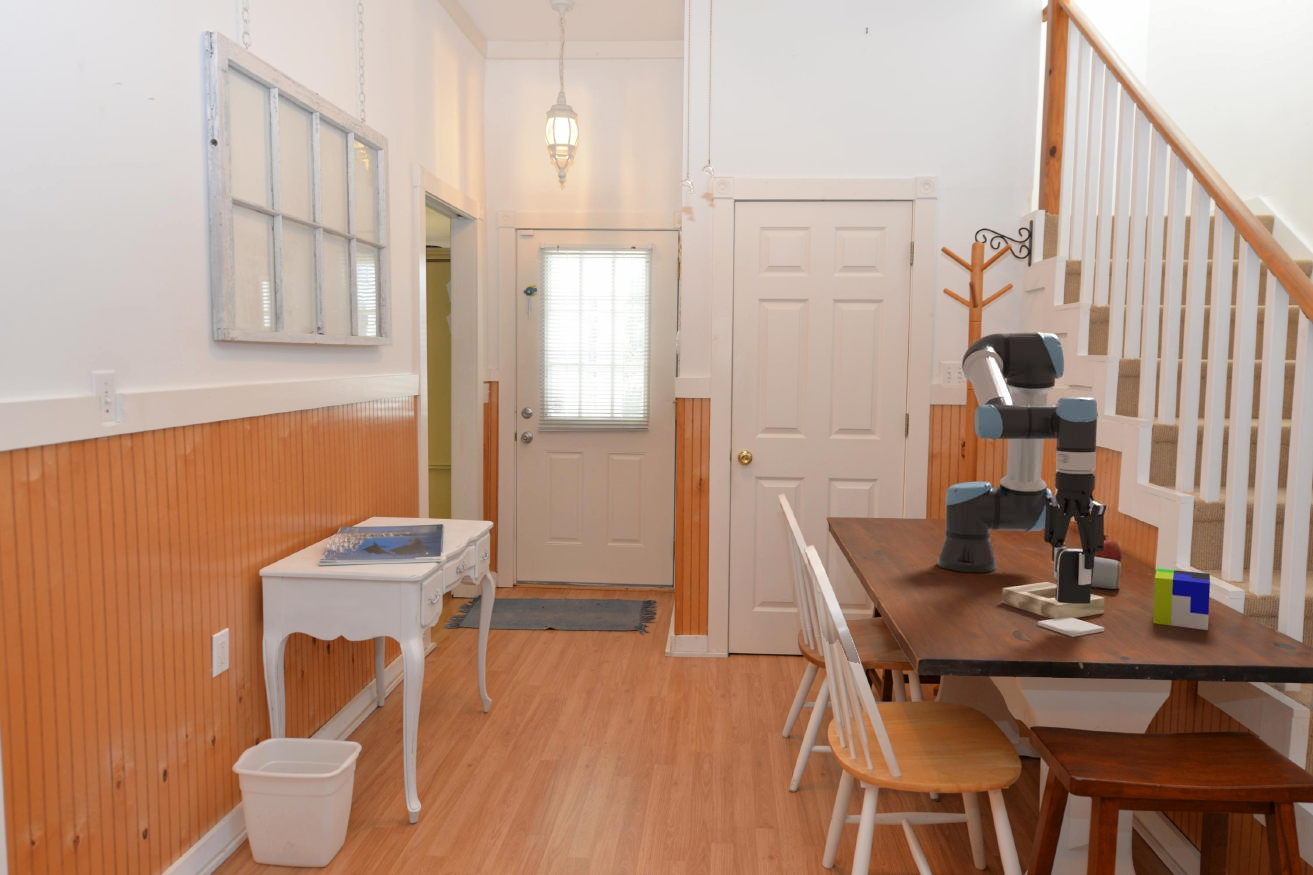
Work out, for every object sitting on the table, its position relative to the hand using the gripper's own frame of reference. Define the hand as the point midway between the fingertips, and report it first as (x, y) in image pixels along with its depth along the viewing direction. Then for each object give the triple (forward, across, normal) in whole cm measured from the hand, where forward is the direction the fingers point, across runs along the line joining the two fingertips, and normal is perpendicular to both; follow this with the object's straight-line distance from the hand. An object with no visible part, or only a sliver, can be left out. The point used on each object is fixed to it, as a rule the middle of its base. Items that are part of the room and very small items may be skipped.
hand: (1072, 580), depth 184 cm
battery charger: (+5, 0, 0) cm, 5 cm away
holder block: (+10, -13, +9) cm, 19 cm away
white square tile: (+10, 0, 0) cm, 10 cm away
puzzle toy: (+11, +6, +26) cm, 29 cm away
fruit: (+10, -33, +49) cm, 60 cm away
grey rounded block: (+10, -23, +36) cm, 44 cm away
